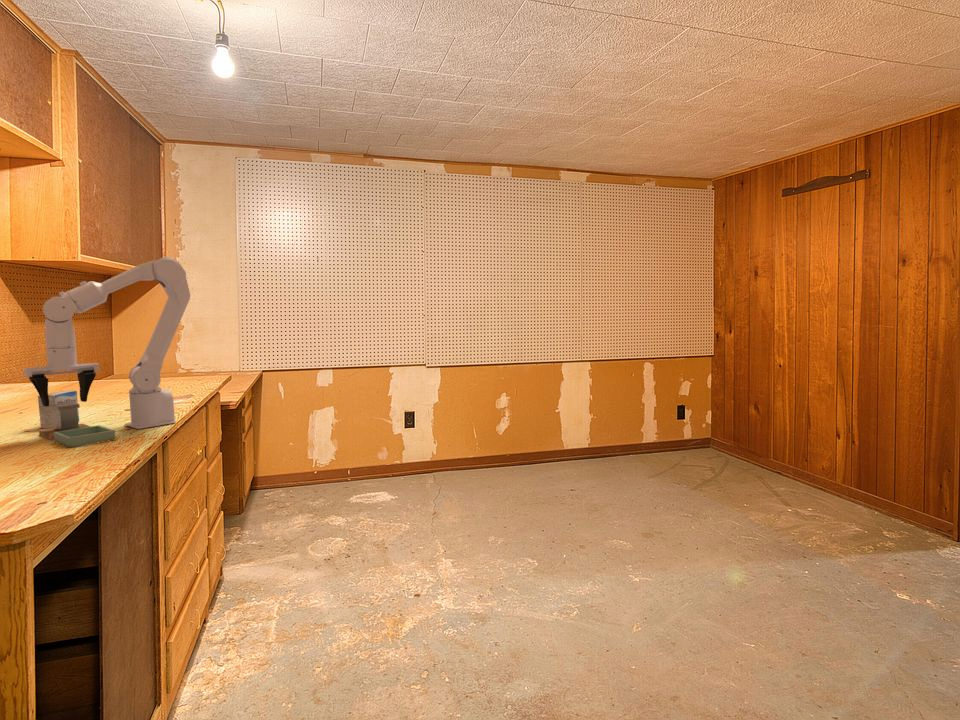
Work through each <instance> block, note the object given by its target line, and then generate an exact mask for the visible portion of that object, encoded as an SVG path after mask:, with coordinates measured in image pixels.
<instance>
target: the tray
mask: <svg viewBox="0 0 960 720" xmlns="http://www.w3.org/2000/svg"><path fill="white" fill-rule="evenodd" d="M90 426H91V425H90ZM114 439H115V440H116V430H114V429H111V428H108V427H106V426H102V425H100V424H98V425H92V426H91V427H85V428H78V429H72V430H65V431H59V432H54V440H53V442H54V443H56V442H57V443H56V444H58V443H59V445H61V446H63V445H64V446H63V447H65V446H66V447H65V448H68V447H71V448H76V447H75V446H77V447H81V445H82V446H87V445H86V444H88V445H92V444H91V443H94V444H98V443H97V442H99V443H103V442H102V441H105V442H109V441H108V440H111V441H115V440H114Z"/></svg>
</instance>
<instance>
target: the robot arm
mask: <svg viewBox="0 0 960 720" xmlns="http://www.w3.org/2000/svg"><path fill="white" fill-rule="evenodd" d="M154 280H155V281H156V282H157V283H158V284H160V285H161V287H162V289H163V291H164V292H165V294H166V296H167V299H166V302H165V303H164V306H163V309H162V311H161V314H160V315H159V318H158V320H157V323H156V325H155V327H154V330H153V332H152V333H151V336H150V338H149V342H147V343H148V344H147V345H146V348H145V350H144V353H142V355H141V357H140V359H139V361H138V363H137V364H136V365H135V366H133V367H132V368H131V370H130V371H129V375H128V379H129V381H130V383H131V384H132V388H131V389H129V391H128V392H129V394H128V395H129V408H130V410H129V411H130V422H125V423H124V425H125V426H126V427H130V428H133V429H136V430H140V429H147V428H152V427H153V428H154V427H159V426H164V425H169V424H175V423H177V420H175V419H176V418H175V404H174V397H173V393H172V391H170V390H169V389H166V388H165V389H162V386H159V385H160V383H161V380H162V379H161V372H162V371H161V370H162V369H163V365H164V360H165V357H166V355H167V352H168V351H169V348H170V346H171V343H172V341H173V339H174V337H175V335H176V332H177V329H178V327H179V325H180V323H181V320H182V319H183V315H184V313H185V311H186V309H187V306H188V304H189V302H190V299H191V292H190V287H189V284H188V280H187V271H186V270H185V269H184V267H183V266H182V265H181V263H180V261H178V260H177V259H175V258H174V257H172V256H163V257H161V258H159V259H157V260H152V261H148V262H144V263H141V264H137V265H136V266H134V267H131V268H129V269H127V270H125V271H124V272H120V273H119V274H117V275H114V276H112V277H111V278H109V279H106V280H104V281H102V282H96V281H93V280H91V281H88V282H87V281H86V280H83V281H81V282H79V286H77V287H74V288H73V289H70V290H67V291H65V292H64V291H63V290H62V291H60V292H58V294H59V296H52V297H51V298H49V299H47V300H46V301H45V302H44V303H43V306H42V313H43V315H44V316H45V319H44V326H45V328H44V336H45V337H44V338H45V351H46V352H45V353H46V366H45V365H44V366H37V367H36V366H35V367H33V366H32V367H24V368H23V376H24V377H26V378H28V380H29V381H30V383H31V384H32V385H33V387H34V389H35V390H36V391H37V393H38V396H40V398H41V401H42V404H43V406H49V397H48V394H49V378H48V377H47V376H52V375H63V374H64V375H67V374H75V373H76V375H77V379H78V384H79V399H80V402H83V403H86V402H87V401H88V395H89V391H90V388H91V386H92V383H93V382H94V379H96V376H97V373H96V372H100V366H99V363H98V362H93V363H92V362H91V363H78V360H77V359H78V358H77V345H76V344H77V343H76V332H75V327H74V322H73V316H74V314H82V313H84V312H86V311H89V310H91V309H93V308H95V307H97V306H100V305H102V304H104V303H106V302H107V299H108V296H109V294H111V293H114V292H115V291H118V290H120V289H123V288H125V287H127V286H130V285H132V284H135V283H137V282H139V281H146V282H147V281H149V282H151V281H154Z"/></svg>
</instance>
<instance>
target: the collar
mask: <svg viewBox="0 0 960 720" xmlns="http://www.w3.org/2000/svg"><path fill="white" fill-rule="evenodd" d="M78 425H79V428H85V427H91V425H87V424H85V423H78ZM54 432H57V430H56V428H41V429H38V435H39V436H41V437H43V438H45V439H48V440H50V441H54Z"/></svg>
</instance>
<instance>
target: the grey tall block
mask: <svg viewBox="0 0 960 720" xmlns="http://www.w3.org/2000/svg"><path fill="white" fill-rule="evenodd" d="M80 407H81V406H80V403H78V404H77V403H73V402H72V403H64V404H56V405H52V408H53V409H55V417H56V430H57V432H59V431H65V430H72V429H78V428H79V425H78V424H79V422H78V412H77V408H78V409H79V408H80Z"/></svg>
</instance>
